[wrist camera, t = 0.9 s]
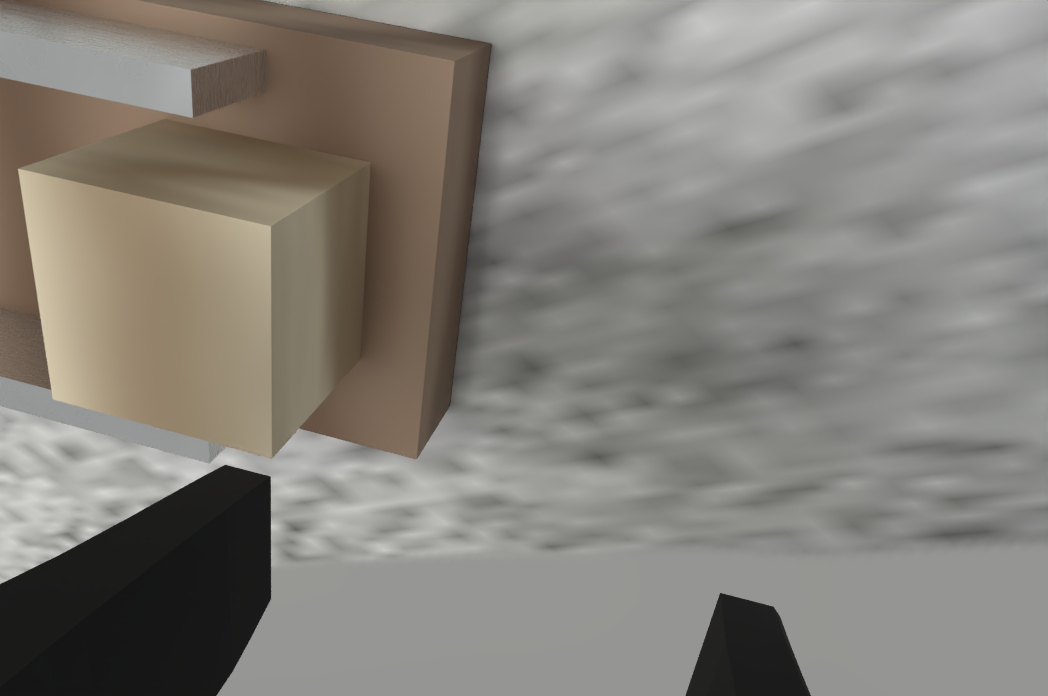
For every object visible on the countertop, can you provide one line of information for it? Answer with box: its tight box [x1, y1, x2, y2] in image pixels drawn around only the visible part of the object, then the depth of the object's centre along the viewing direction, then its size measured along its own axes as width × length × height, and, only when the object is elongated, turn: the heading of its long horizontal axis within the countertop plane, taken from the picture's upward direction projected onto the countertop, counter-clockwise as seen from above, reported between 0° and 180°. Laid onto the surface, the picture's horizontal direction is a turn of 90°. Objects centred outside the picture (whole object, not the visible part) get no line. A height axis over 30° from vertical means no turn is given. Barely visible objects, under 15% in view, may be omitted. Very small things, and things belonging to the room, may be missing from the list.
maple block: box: [18, 119, 371, 459], centre depth 16 cm, size 4×4×4 cm
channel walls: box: [0, 0, 266, 463], centre depth 18 cm, size 8×8×2 cm
